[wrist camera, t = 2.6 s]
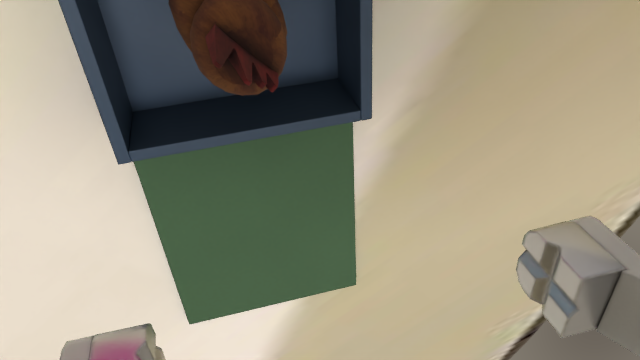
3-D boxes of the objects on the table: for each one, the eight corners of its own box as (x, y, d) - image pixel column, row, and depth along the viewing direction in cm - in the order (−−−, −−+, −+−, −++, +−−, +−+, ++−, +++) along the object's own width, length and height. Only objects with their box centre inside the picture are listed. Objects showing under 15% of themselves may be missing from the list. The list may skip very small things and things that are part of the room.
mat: (350, 109, 39) (352, 112, 38) (354, 280, 51) (356, 284, 50) (130, 147, 36) (130, 152, 36) (189, 319, 48) (189, 324, 47)
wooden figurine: (150, -32, 29) (140, 58, 18) (233, -81, 29) (279, -23, 17) (212, 60, 34) (237, 184, 22) (285, 19, 33) (350, 120, 21)
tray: (340, -163, 28) (373, -162, 24) (347, 84, 38) (372, 119, 33) (37, -139, 26) (9, -133, 21) (124, 121, 35) (118, 164, 30)
